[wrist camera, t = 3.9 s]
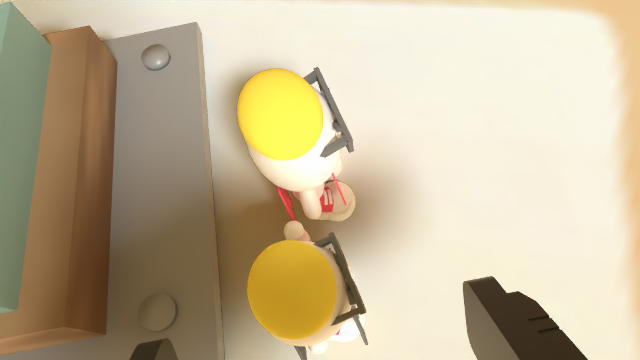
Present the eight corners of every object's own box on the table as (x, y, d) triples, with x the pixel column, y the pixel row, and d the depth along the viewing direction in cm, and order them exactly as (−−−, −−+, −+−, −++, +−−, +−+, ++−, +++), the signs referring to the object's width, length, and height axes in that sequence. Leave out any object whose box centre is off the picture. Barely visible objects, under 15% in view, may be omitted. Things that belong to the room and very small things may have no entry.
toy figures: (375, 361, 19) (381, 345, 11) (276, 369, 19) (217, 359, 12) (347, 128, 24) (338, 11, 17) (269, 137, 24) (226, 26, 17)
